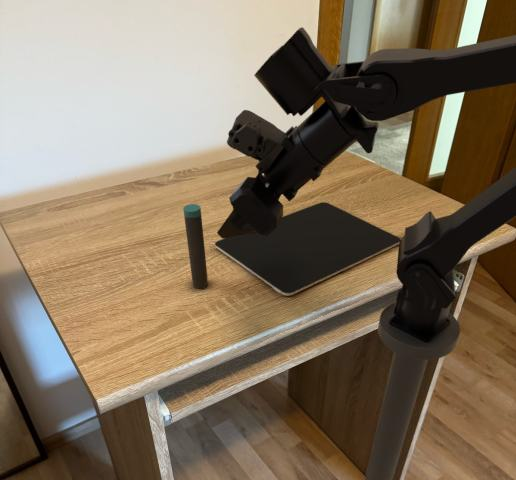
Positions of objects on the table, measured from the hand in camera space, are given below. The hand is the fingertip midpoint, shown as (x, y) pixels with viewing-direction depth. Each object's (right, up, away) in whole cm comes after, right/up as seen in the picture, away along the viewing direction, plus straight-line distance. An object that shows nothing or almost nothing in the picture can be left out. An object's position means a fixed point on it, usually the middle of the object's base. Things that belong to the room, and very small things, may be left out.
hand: (230, 219), depth 68 cm
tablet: (+13, 0, +18) cm, 22 cm away
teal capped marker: (-5, -8, +9) cm, 13 cm away
